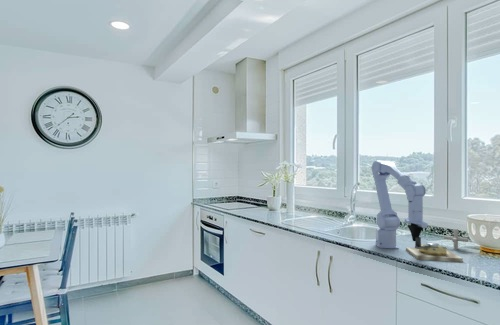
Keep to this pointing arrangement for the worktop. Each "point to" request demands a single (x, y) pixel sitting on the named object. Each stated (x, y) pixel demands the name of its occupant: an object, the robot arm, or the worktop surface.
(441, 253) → the crank handle
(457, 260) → the beige flat board
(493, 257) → the worktop surface
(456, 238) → the pipe connector
